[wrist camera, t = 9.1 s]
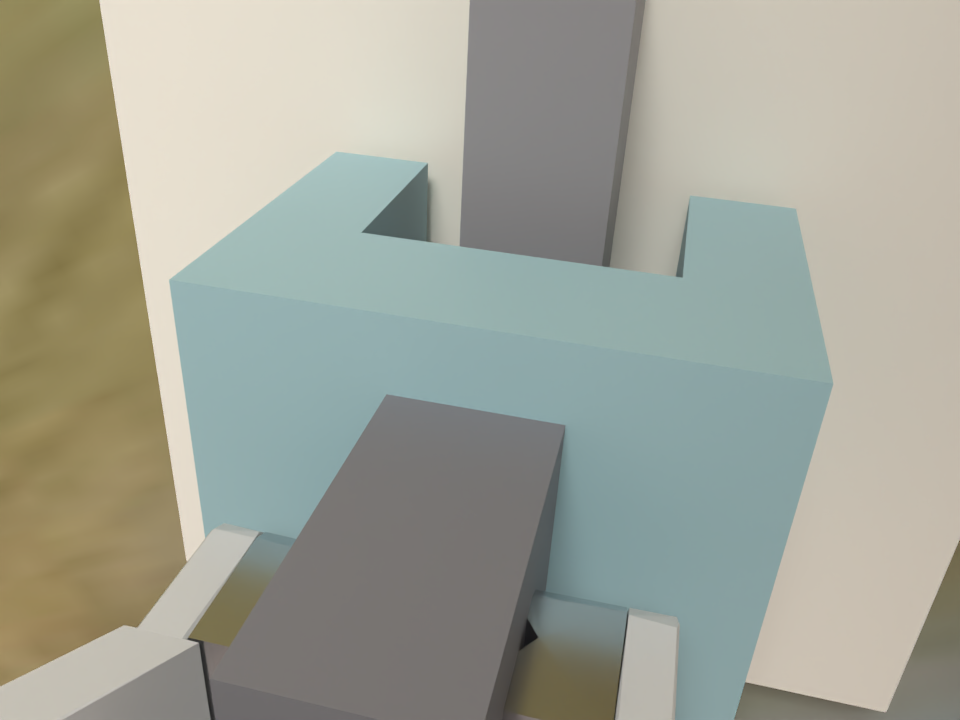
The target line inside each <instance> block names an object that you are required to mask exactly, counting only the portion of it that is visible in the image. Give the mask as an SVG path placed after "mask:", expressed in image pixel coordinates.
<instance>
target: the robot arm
mask: <svg viewBox="0 0 960 720" xmlns="http://www.w3.org/2000/svg"><path fill="white" fill-rule="evenodd" d="M295 540H296V539H294V538H290V537H286V536H281V535H277V534H273V533H269V532H265V533H264V532H260V531H256V530H252V529H247V528H243V527H239V526H235V525H231V524H226V523H223V524H221V525H220V526H218V527H216V528H214V529H213V530H212V531H210V533H209V534H208V535H207V537H206V538H205V539H204V541H203V542H202V543H201V545H200V546H199V547H198V549H197V550H196V551H195V552H194V554H193V555H192V556H191V558H190V559H189V560H188V562H187V563H186V564H185V566H184V567H183V568H182V569H181V571H180V572H179V573H178V575H177V576H176V577H175V579H174V580H173V581H172V583H171V584H170V585H169V586H168V588H167V589H166V590H165V592H164V593H163V594H162V596H161V597H160V598H159V600H158V601H157V602H156V604H155V605H154V606H153V607H152V609H151V610H150V611H149V613H148V614H147V615H146V617H145V618H144V619H143V621H142V622H141V623H140V624H139V626H138V627H137V628H136V627H131V626H126V625H123V626H121V627H119V628H117V629H115V630H113V631H111V632H109V633H107V634H105V635H103V636H101V637H99V638H97V639H95V640H93V641H91V642H89V643H87V644H85V645H83V646H81V647H79V648H77V649H75V650H73V651H71V652H69V653H67V654H65V655H63V656H61V657H59V658H57V659H55V660H53V661H51V662H49V663H47V664H45V665H43V666H41V667H39V668H37V669H35V670H33V671H31V672H29V673H27V674H25V675H23V676H21V677H19V678H17V679H15V680H13V681H11V682H9V683H7V684H5V685H3V686H1V687H0V720H216V719H215V712H214V706H213V699H212V693H211V686H210V680H209V679H210V677H211V675H212V674H213V672H214V670H215V669H216V667H217V666H218V664H219V662H220V661H221V659H222V658H223V656H224V654H225V653H226V651H227V650H228V648H229V646H230V645H231V643H232V642H233V640H234V638H235V637H236V635H237V634H238V632H239V630H240V629H241V627H242V625H243V624H244V622H245V621H246V619H247V617H248V616H249V614H250V613H251V611H252V609H253V608H254V606H255V605H256V603H257V601H258V600H259V598H260V597H261V595H262V593H263V592H264V590H265V589H266V587H267V585H268V584H269V582H270V581H271V579H272V577H273V576H274V574H275V572H276V571H277V569H278V568H279V566H280V564H281V563H282V561H283V560H284V558H285V556H286V555H287V553H288V552H289V550H290V548H291V547H292V545H293V544H294V542H295ZM679 631H680V624H679V622H678V619H677V617H675V616H669V615H664V614H659V613H654V612H649V611H644V610H639V609H634V608H629V610H628V612H627V607H623V606H618V605H612V604H607V603H602V602H597V601H592V600H587V599H582V598H577V597H572V596H567V595H562V594H557V593H552V592H547V591H542V590H537V589H536V590H535V592H534V594H533V596H532V600H531V604H530V608H529V612H528V616H527V622H526V631H525V640H524V648H523V649H522V650H520V651H519V652H518V655H517V659H516V663H515V667H514V670H513V674H512V678H511V682H510V686H509V690H508V694H507V698H506V702H505V706H504V710H503V719H502V720H675V709H676V689H677V670H678V650H679Z"/></svg>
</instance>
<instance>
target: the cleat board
mask: <svg viewBox="0 0 960 720" xmlns="http://www.w3.org/2000/svg"><path fill="white" fill-rule="evenodd" d="M99 1H100V7H101V14H102V20H103V27H104V33H105V40H106V46H107V52H108V59H109V65H110V72H111V78H112V85H113V91H114V97H115V104H116V110H117V117H118V123H119V130H120V136H121V142H122V149H123V155H124V162H125V168H126V175H127V181H128V187H129V194H130V200H131V207H132V213H133V220H134V226H135V232H136V239H137V245H138V252H139V258H140V265H141V271H142V277H143V284H144V290H145V297H146V303H147V310H148V316H149V322H150V329H151V335H152V342H153V348H154V355H155V361H156V367H157V374H158V380H159V387H160V393H161V400H162V406H163V412H164V419H165V425H166V432H167V438H168V444H169V451H170V457H171V464H172V470H173V477H174V483H175V489H176V496H177V502H178V509H179V515H180V522H181V528H182V534H183V541H184V547H185V554H186V560H187V561H188V560H189V559H190V558H191V556H192V555H193V554H194V552H195V551H196V550H197V549H198V547H199V546H200V545H201V543H202V542H203V541H204V539H205V534H204V526H203V519H202V512H201V505H200V498H199V491H198V484H197V476H196V469H195V462H194V455H193V448H192V441H191V434H190V427H189V419H188V412H187V405H186V398H185V391H184V384H183V377H182V369H181V362H180V355H179V348H178V341H177V334H176V327H175V319H174V312H173V305H172V298H171V291H170V284H169V279H171V278H172V277H173V276H175V275H176V274H177V273H178V272H180V271H181V270H182V269H184V268H185V267H186V266H188V265H189V264H190V263H192V262H193V261H194V260H195V259H197V258H198V257H199V256H201V255H202V254H203V253H205V252H206V251H207V250H209V249H210V248H211V247H212V246H214V245H215V244H216V243H218V242H219V241H220V240H222V239H223V238H224V237H226V236H227V235H228V234H229V233H231V232H232V231H233V230H235V229H236V228H237V227H239V226H240V225H241V224H243V223H244V222H245V221H246V220H248V219H249V218H250V217H252V216H253V215H254V214H256V213H257V212H258V211H259V210H261V209H262V208H263V207H265V206H266V205H267V204H269V203H270V202H271V201H273V200H274V199H275V198H276V197H278V196H279V195H280V194H282V193H283V192H284V191H286V190H287V189H288V188H290V187H291V186H292V185H293V184H295V183H296V182H297V181H299V180H300V179H301V178H303V177H304V176H305V175H307V174H308V173H309V172H310V171H312V170H313V169H314V168H316V167H317V166H318V165H320V164H321V163H322V162H323V161H325V160H326V159H327V158H329V157H330V156H331V155H333V154H334V153H335V152H344V153H352V154H360V155H368V156H376V157H384V158H392V159H400V160H408V161H416V162H424V163H428V186H427V234H426V242H432V243H439V244H446V245H453V246H460V247H468V248H475V249H482V250H489V251H496V252H503V253H510V254H517V255H525V256H532V257H539V258H546V259H553V260H560V261H567V262H574V263H582V264H589V265H596V266H603V267H610V268H617V269H624V270H631V271H639V272H646V273H653V274H660V275H667V276H674V277H676V272H677V267H678V261H679V255H680V250H681V244H682V239H683V233H684V227H685V222H686V216H687V210H688V205H689V199H690V196H698V197H706V198H714V199H722V200H731V201H739V202H747V203H755V204H763V205H771V206H779V207H787V208H795V209H796V212H797V216H798V221H799V225H800V230H801V235H802V239H803V244H804V249H805V253H806V258H807V263H808V267H809V272H810V277H811V281H812V286H813V291H814V295H815V300H816V305H817V309H818V314H819V319H820V323H821V328H822V333H823V337H824V342H825V347H826V351H827V356H828V361H829V365H830V370H831V375H832V379H833V387H832V390H831V394H830V397H829V401H828V404H827V407H826V411H825V414H824V417H823V421H822V424H821V428H820V431H819V434H818V438H817V441H816V444H815V448H814V451H813V455H812V458H811V461H810V465H809V468H808V471H807V475H806V478H805V482H804V485H803V488H802V492H801V495H800V498H799V502H798V505H797V509H796V512H795V515H794V519H793V522H792V525H791V529H790V532H789V536H788V539H787V542H786V546H785V549H784V552H783V556H782V559H781V563H780V566H779V569H778V573H777V576H776V580H775V583H774V586H773V590H772V593H771V596H770V600H769V603H768V607H767V610H766V613H765V617H764V620H763V623H762V627H761V630H760V634H759V637H758V640H757V644H756V647H755V650H754V654H753V657H752V661H751V664H750V667H749V671H748V674H747V677H746V681H745V682H748V683H752V684H757V685H761V686H766V687H771V688H775V689H780V690H784V691H789V692H794V693H798V694H803V695H807V696H812V697H817V698H821V699H826V700H831V701H835V702H840V703H844V704H849V705H854V706H858V707H863V708H867V709H872V710H877V711H881V712H887V709H888V707H889V705H890V702H891V700H892V697H893V695H894V693H895V690H896V688H897V686H898V683H899V681H900V679H901V676H902V674H903V672H904V669H905V667H906V665H907V662H908V660H909V657H910V655H911V653H912V650H913V648H914V646H915V643H916V641H917V639H918V636H919V634H920V632H921V629H922V627H923V625H924V622H925V620H926V617H927V615H928V613H929V610H930V608H931V606H932V603H933V601H934V599H935V596H936V594H937V592H938V589H939V587H940V585H941V582H942V580H943V578H944V575H945V573H946V570H947V568H948V566H949V563H950V561H951V559H952V556H953V554H954V552H955V549H956V547H957V545H958V542H959V540H960V0H99Z"/></svg>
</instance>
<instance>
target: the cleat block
mask: <svg viewBox="0 0 960 720" xmlns="http://www.w3.org/2000/svg"><path fill="white" fill-rule="evenodd" d="M427 186H428V163H424V162H416V161H408V160H400V159H392V158H384V157H376V156H368V155H360V154H352V153H344V152H335V153H334V154H333V155H331V156H330V157H329V158H327V159H326V160H325V161H323V162H322V163H321V164H320V165H318V166H317V167H316V168H314V169H313V170H312V171H310V172H309V173H308V174H307V175H305V176H304V177H303V178H301V179H300V180H299V181H297V182H296V183H295V184H293V185H292V186H291V187H290V188H288V189H287V190H286V191H284V192H283V193H282V194H280V195H279V196H278V197H276V198H275V199H274V200H273V201H271V202H270V203H269V204H267V205H266V206H265V207H263V208H262V209H261V210H259V211H258V212H257V213H256V214H254V215H253V216H252V217H250V218H249V219H248V220H246V221H245V222H244V223H243V224H241V225H240V226H239V227H237V228H236V229H235V230H233V231H232V232H231V233H229V234H228V235H227V236H226V237H224V238H223V239H222V240H220V241H219V242H218V243H216V244H215V245H214V246H212V247H211V248H210V249H209V250H207V251H206V252H205V253H203V254H202V255H201V256H199V257H198V258H197V259H195V260H194V261H193V262H192V263H190V264H189V265H188V266H186V267H185V268H184V269H182V270H181V271H180V272H178V273H177V274H176V275H175V276H173V277H172V278H171V279H169V284H170V291H171V298H172V305H173V312H174V319H175V327H176V334H177V341H178V348H179V355H180V362H181V369H182V377H183V384H184V391H185V398H186V405H187V412H188V419H189V427H190V434H191V441H192V448H193V455H194V462H195V469H196V476H197V484H198V491H199V498H200V505H201V512H202V519H203V526H204V534H205V538H206V537H207V535H208V534H209V533H210V531H212V530H213V529H214V528H216V527H218V526H220V525H221V524H223V523H226V524H231V525H235V526H239V527H243V528H247V529H252V530H256V531H260V532H264V533H265V532H269V533H273V534H277V535H281V536H286V537H290V538H294V539H296V540H295V542H294V544H293V545H292V547H291V548H290V550H289V552H288V553H287V555H286V556H285V558H284V560H283V561H282V563H281V564H280V566H279V568H278V569H277V571H276V572H275V574H274V576H273V577H272V579H271V581H270V582H269V584H268V585H267V587H266V589H265V590H264V592H263V593H262V595H261V597H260V598H259V600H258V601H257V603H256V605H255V606H254V608H253V609H252V611H251V613H250V614H249V616H248V617H247V619H246V621H245V622H244V624H243V625H242V627H241V629H240V630H239V632H238V634H237V635H236V637H235V638H234V640H233V642H232V643H231V645H230V646H229V648H228V650H227V651H226V653H225V654H224V656H223V658H222V659H221V661H220V662H219V664H218V666H217V667H216V669H215V670H214V672H213V674H212V675H211V677H210V679H209V680H210V686H211V693H212V699H213V706H214V712H215V719H216V720H502V719H503V710H504V706H505V702H506V698H507V694H508V690H509V686H510V682H511V678H512V674H513V670H514V667H515V663H516V659H517V655H518V652H519V651H520V650H522V649H523V648H524V640H525V631H526V622H527V616H528V612H529V608H530V604H531V600H532V596H533V594H534V592H535V590H536V589H537V590H542V591H547V592H552V593H557V594H562V595H567V596H572V597H577V598H582V599H587V600H592V601H597V602H602V603H607V604H612V605H618V606H623V607H627V612H628V610H629V608H634V609H639V610H644V611H649V612H654V613H659V614H664V615H669V616H675V617H677V619H678V622H679V624H680V631H679V650H678V670H677V689H676V709H675V720H734V718H735V715H736V711H737V708H738V704H739V701H740V698H741V694H742V691H743V688H744V684H745V681H746V677H747V674H748V671H749V667H750V664H751V661H752V657H753V654H754V650H755V647H756V644H757V640H758V637H759V634H760V630H761V627H762V623H763V620H764V617H765V613H766V610H767V607H768V603H769V600H770V596H771V593H772V590H773V586H774V583H775V580H776V576H777V573H778V569H779V566H780V563H781V559H782V556H783V552H784V549H785V546H786V542H787V539H788V536H789V532H790V529H791V525H792V522H793V519H794V515H795V512H796V509H797V505H798V502H799V498H800V495H801V492H802V488H803V485H804V482H805V478H806V475H807V471H808V468H809V465H810V461H811V458H812V455H813V451H814V448H815V444H816V441H817V438H818V434H819V431H820V428H821V424H822V421H823V417H824V414H825V411H826V407H827V404H828V401H829V397H830V394H831V390H832V387H833V379H832V375H831V370H830V365H829V361H828V356H827V351H826V347H825V342H824V337H823V333H822V328H821V323H820V319H819V314H818V309H817V305H816V300H815V295H814V291H813V286H812V281H811V277H810V272H809V267H808V263H807V258H806V253H805V249H804V244H803V239H802V235H801V230H800V225H799V221H798V216H797V212H796V209H795V208H787V207H779V206H771V205H763V204H755V203H747V202H739V201H731V200H722V199H714V198H706V197H698V196H690V199H689V205H688V210H687V216H686V222H685V227H684V233H683V239H682V244H681V250H680V255H679V261H678V267H677V272H676V277H674V276H667V275H660V274H653V273H646V272H639V271H631V270H624V269H617V268H610V267H603V266H596V265H589V264H582V263H574V262H567V261H560V260H553V259H546V258H539V257H532V256H525V255H517V254H510V253H503V252H496V251H489V250H482V249H475V248H468V247H460V246H453V245H446V244H439V243H432V242H426V234H427Z"/></svg>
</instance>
